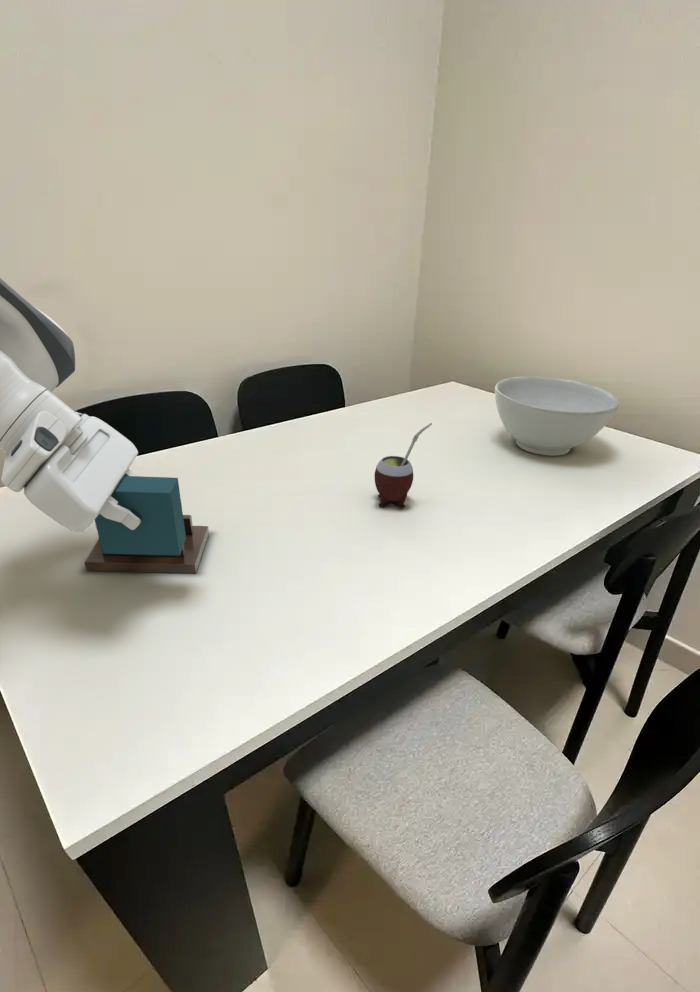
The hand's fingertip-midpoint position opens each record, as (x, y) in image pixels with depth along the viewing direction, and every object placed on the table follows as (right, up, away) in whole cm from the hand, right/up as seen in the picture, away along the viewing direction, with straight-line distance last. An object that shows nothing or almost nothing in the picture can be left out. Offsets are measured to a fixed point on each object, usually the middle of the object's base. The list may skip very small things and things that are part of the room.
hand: (144, 513), depth 75 cm
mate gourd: (+35, +8, +34) cm, 49 cm away
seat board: (-4, -3, +16) cm, 16 cm away
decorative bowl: (+72, +27, +61) cm, 98 cm away
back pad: (-1, -4, +3) cm, 5 cm away
